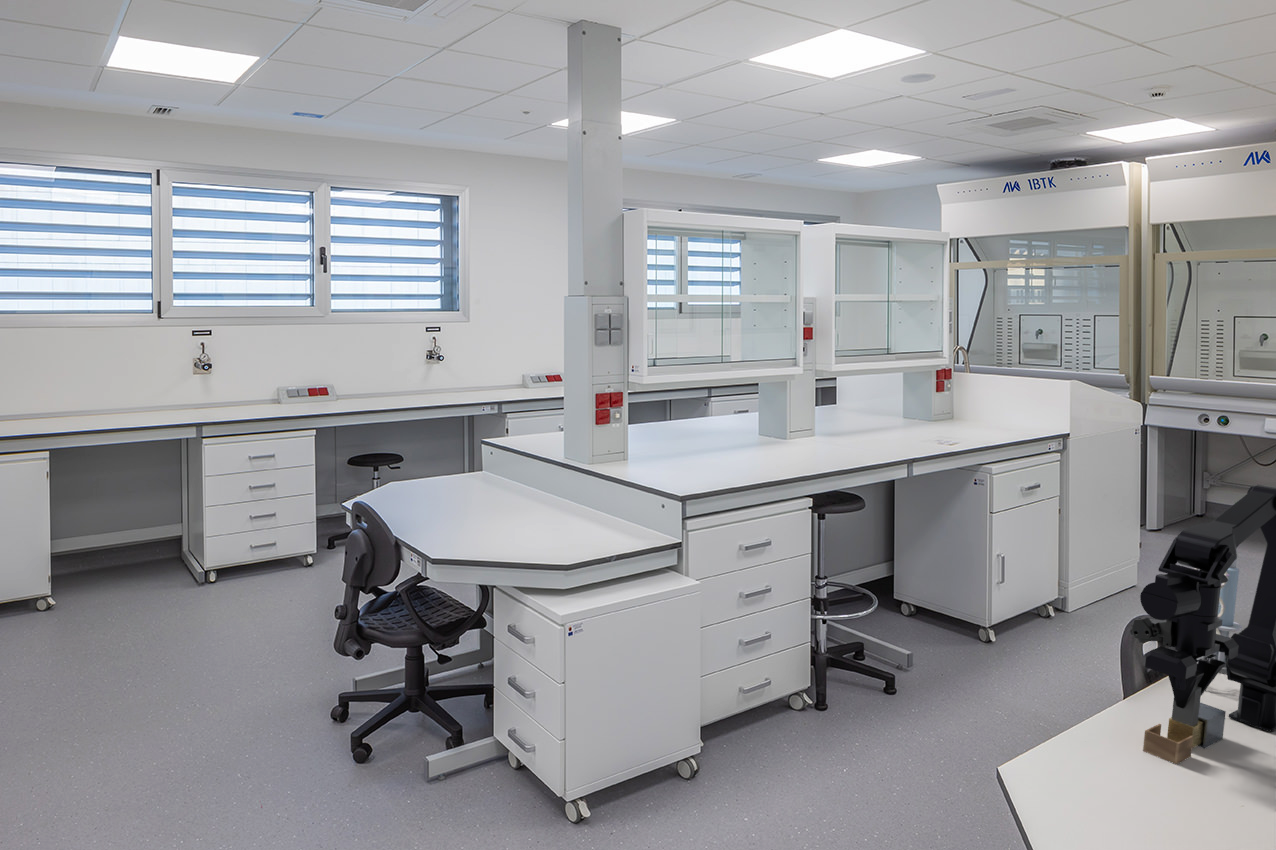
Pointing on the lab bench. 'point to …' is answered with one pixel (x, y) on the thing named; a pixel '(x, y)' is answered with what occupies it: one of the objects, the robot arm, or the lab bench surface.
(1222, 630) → the pale blue cylinder
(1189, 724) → the grey and tan block
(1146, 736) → the socket
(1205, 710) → the grey end cap
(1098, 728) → the lab bench surface
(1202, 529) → the robot arm
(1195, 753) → the lab bench surface
